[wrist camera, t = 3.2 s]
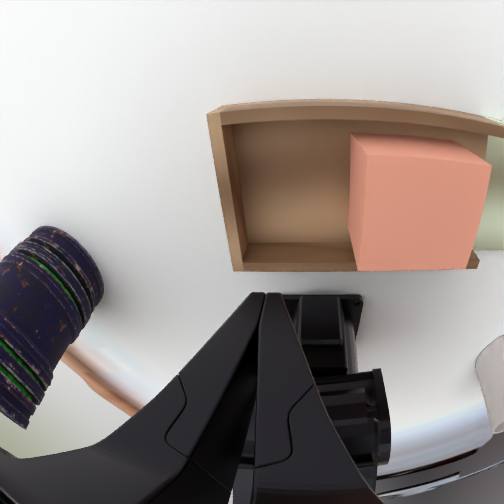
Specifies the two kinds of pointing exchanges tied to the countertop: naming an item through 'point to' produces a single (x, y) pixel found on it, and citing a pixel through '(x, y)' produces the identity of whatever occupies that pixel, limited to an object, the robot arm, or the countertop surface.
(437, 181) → the block
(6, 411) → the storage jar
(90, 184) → the countertop surface
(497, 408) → the cup
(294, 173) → the wooden tray
